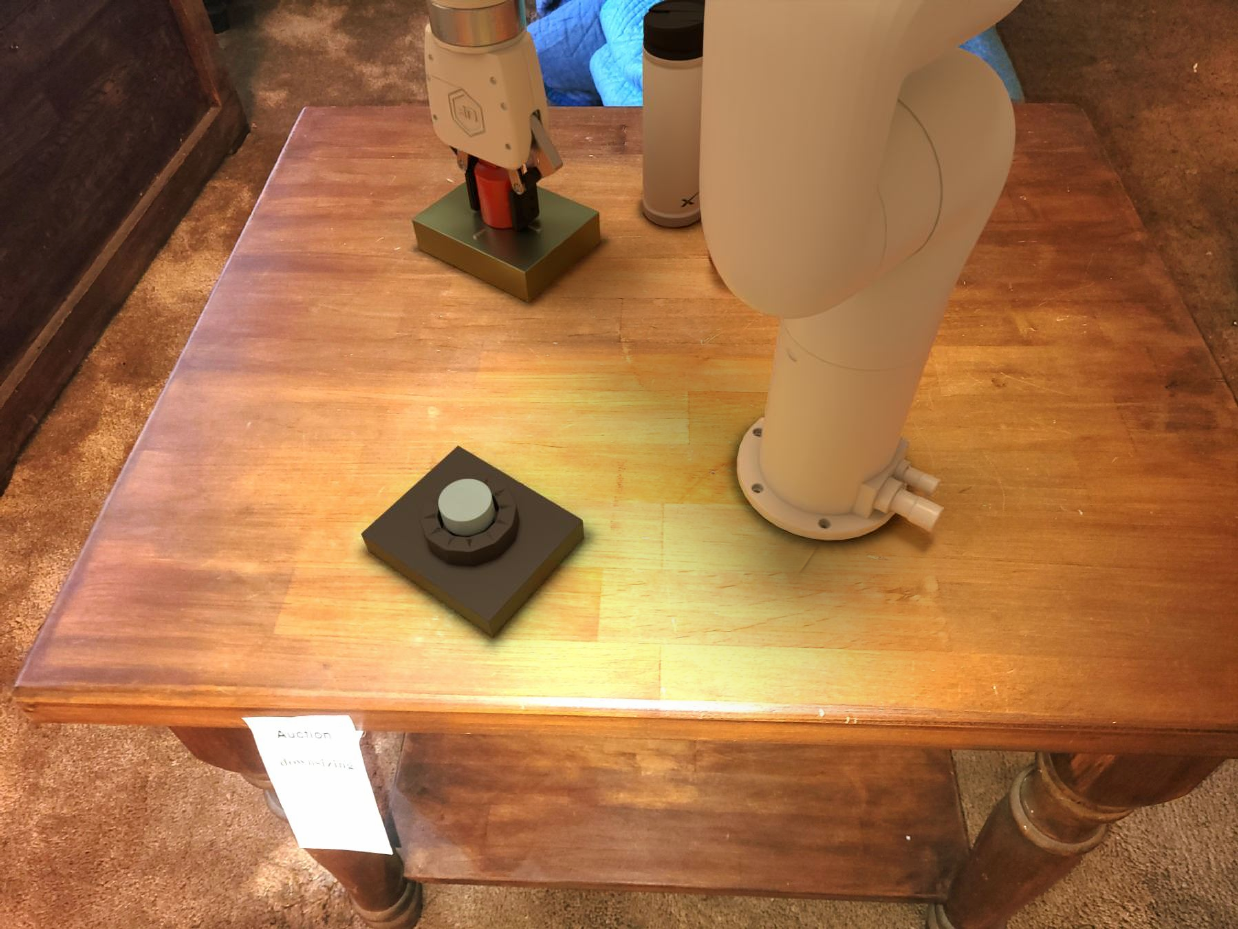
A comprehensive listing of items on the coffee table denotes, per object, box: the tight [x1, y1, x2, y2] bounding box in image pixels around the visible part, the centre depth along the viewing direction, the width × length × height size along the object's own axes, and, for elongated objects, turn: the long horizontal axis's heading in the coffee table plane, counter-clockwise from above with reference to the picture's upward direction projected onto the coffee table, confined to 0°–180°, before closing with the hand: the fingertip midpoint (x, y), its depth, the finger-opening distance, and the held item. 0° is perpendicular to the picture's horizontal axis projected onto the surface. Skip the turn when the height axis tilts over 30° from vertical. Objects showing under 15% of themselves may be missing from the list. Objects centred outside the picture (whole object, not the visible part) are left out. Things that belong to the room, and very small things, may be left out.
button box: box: [360, 445, 585, 639], centre depth 62 cm, size 12×10×4 cm
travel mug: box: [641, 0, 705, 228], centre depth 81 cm, size 6×7×20 cm
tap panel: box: [411, 181, 602, 303], centre depth 84 cm, size 14×11×4 cm
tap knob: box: [474, 158, 525, 228], centre depth 81 cm, size 4×4×5 cm
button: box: [438, 479, 495, 536], centre depth 60 cm, size 4×4×2 cm
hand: (505, 211), depth 82 cm, fingers closed on tap knob, 4 cm apart
